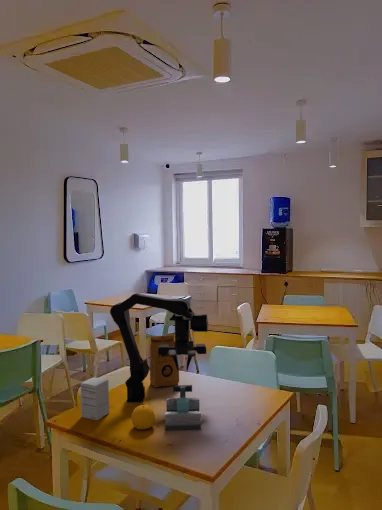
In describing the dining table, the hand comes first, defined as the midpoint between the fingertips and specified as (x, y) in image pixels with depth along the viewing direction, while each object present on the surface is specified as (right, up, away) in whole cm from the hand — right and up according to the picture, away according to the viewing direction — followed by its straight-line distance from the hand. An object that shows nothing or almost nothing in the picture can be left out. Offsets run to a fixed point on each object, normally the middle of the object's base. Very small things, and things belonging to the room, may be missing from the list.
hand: (182, 370), depth 168 cm
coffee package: (-8, -12, +20) cm, 25 cm away
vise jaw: (0, -11, -10) cm, 14 cm away
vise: (0, -13, -17) cm, 21 cm away
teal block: (0, -11, -19) cm, 22 cm away
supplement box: (-32, -13, -12) cm, 36 cm away
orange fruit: (-13, -13, -23) cm, 29 cm away
